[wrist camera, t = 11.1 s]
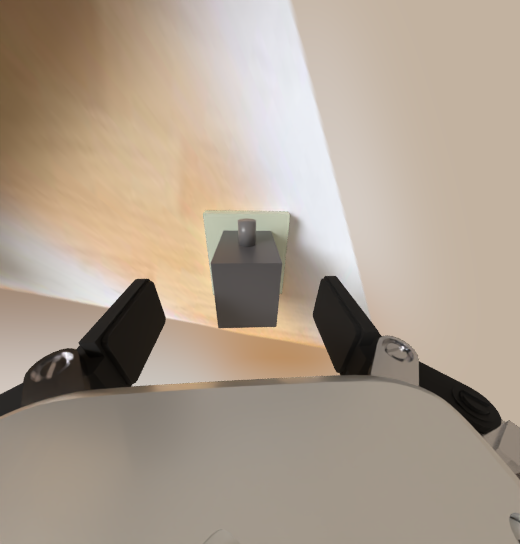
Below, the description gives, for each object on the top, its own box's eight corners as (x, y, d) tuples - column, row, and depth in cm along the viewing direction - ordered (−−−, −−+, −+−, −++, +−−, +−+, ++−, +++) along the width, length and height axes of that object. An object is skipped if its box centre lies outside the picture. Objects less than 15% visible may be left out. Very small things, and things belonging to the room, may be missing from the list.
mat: (206, 210, 16) (202, 213, 15) (287, 211, 16) (290, 214, 15) (215, 287, 20) (213, 294, 19) (280, 287, 20) (281, 293, 19)
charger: (221, 210, 15) (207, 235, 9) (272, 211, 15) (284, 235, 10) (227, 283, 18) (219, 330, 13) (268, 282, 18) (275, 329, 13)
